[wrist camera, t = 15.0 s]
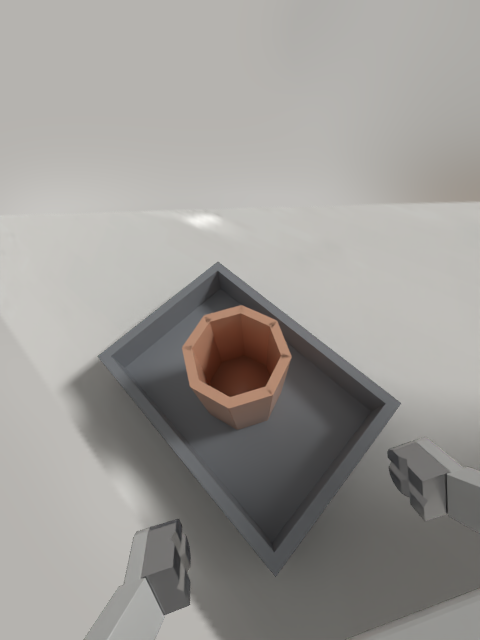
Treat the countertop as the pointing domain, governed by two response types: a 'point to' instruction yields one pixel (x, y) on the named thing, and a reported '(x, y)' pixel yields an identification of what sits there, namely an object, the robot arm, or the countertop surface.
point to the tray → (260, 439)
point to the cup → (237, 365)
